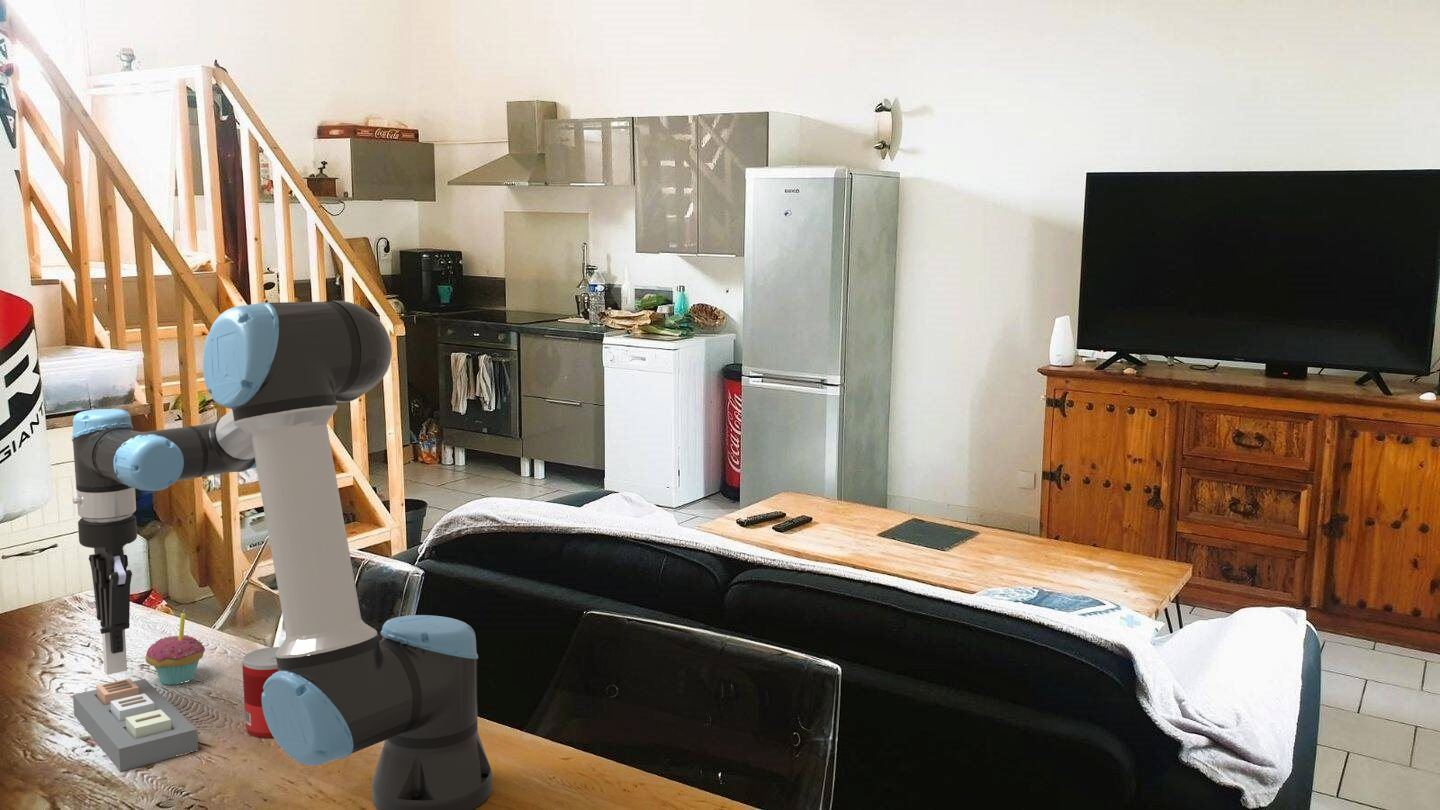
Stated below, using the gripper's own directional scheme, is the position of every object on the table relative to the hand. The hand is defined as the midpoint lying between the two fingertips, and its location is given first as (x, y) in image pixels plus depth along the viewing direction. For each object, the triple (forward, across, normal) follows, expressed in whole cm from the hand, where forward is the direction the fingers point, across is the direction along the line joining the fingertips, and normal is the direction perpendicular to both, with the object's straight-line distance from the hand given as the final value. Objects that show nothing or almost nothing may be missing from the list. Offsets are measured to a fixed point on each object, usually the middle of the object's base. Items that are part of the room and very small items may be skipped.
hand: (115, 671), depth 174 cm
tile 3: (+5, 0, 0) cm, 5 cm away
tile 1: (+4, +15, 0) cm, 16 cm away
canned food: (+7, +19, +16) cm, 26 cm away
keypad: (+7, +8, 0) cm, 10 cm away
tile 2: (+5, +8, 0) cm, 9 cm away
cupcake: (+7, -9, +11) cm, 16 cm away
